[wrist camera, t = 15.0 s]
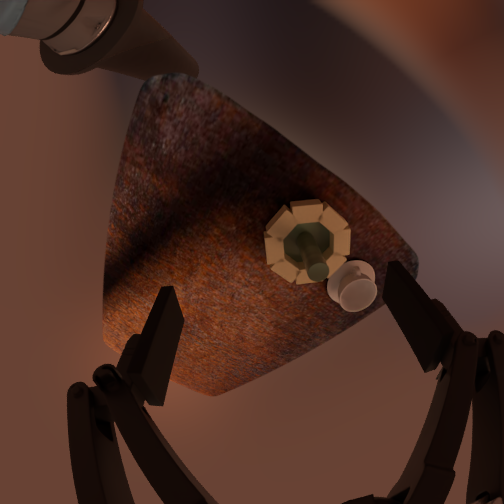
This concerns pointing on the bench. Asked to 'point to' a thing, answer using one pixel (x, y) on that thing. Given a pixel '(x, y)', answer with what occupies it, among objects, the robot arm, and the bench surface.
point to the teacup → (353, 285)
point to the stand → (309, 248)
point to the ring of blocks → (296, 215)
